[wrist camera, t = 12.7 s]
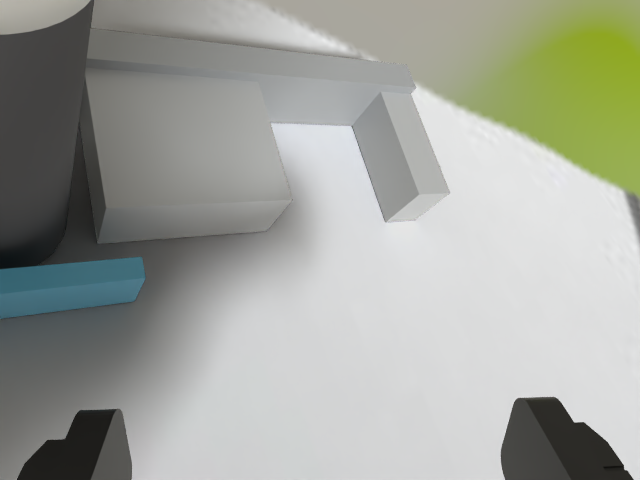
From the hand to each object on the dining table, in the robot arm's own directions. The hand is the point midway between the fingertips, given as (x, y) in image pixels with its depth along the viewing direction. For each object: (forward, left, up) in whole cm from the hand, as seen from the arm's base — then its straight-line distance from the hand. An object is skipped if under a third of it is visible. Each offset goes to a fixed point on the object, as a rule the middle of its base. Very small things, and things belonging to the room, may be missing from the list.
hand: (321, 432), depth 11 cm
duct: (-1, -10, -10) cm, 14 cm away
